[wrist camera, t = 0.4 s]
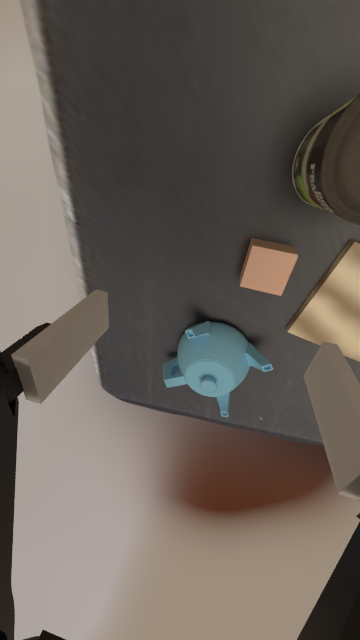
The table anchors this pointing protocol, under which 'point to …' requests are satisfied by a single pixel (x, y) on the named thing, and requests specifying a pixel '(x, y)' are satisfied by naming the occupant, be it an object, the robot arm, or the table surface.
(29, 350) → the robot arm
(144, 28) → the table surface
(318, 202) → the coffee can
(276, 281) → the terracotta block
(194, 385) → the teapot
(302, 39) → the table surface
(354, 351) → the birch board
